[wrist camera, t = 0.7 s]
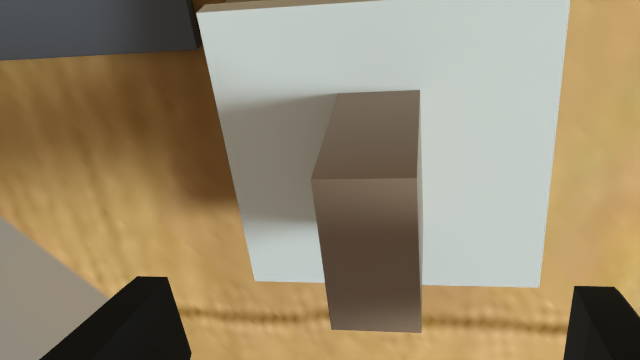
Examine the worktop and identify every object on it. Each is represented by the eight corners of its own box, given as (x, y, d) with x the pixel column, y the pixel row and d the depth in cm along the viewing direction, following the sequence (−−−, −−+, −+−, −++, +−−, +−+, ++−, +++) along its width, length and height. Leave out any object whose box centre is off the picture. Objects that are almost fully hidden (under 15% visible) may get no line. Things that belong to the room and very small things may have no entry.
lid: (532, 258, 18) (565, 406, 14) (264, 254, 20) (216, 386, 15) (560, -28, 14) (622, 55, 9) (212, -3, 15) (124, 78, 11)
